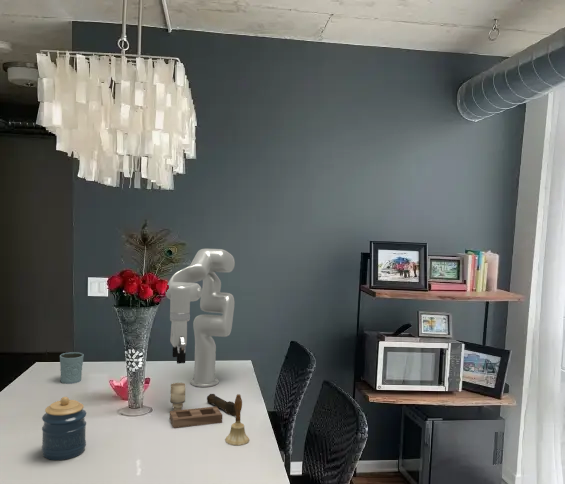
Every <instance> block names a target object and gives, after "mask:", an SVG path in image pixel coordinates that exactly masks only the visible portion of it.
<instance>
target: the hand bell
mask: <svg viewBox="0 0 565 484" xmlns="http://www.w3.org/2000/svg"><path fill="white" fill-rule="evenodd" d="M234 403H235V411H236V416H235V422H234V423H231V425H230V426H231V427H230V431H229V433H228V435H227V436H226V438H225V439H224V441H225V443H226V444H228V445H231V446H244V445H247V444H249V442H250V438H249V436H248V435H247V434H246V430H245V425H244V423H242V422H241V413H242V408H243V399H242V395H241V394H239V393H237V394H236V397H235V400H234Z"/></svg>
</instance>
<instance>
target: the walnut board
mask: <svg viewBox="0 0 565 484" xmlns="http://www.w3.org/2000/svg"><path fill="white" fill-rule="evenodd" d="M168 418H169V422H170V423H171V426H172V428H173V429H179V428H187V427H194V426H204V425H205V426H206V425H211V424H212V425H213V424H220V423H221V424H222V423H223V413H222V412H221V411H220V408H219V407H217V406H215V405H214V406H209V407H208V406H206V407H196V408H187V409H182V410H176V411H174V410H170V411H169V417H168Z"/></svg>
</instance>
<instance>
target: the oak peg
mask: <svg viewBox="0 0 565 484" xmlns="http://www.w3.org/2000/svg"><path fill="white" fill-rule="evenodd" d="M185 402H186V383H184V382H173V383H171V384H170V403H171V404H172V408H173V410H172V411H176V410H183V407H184V403H185Z"/></svg>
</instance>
